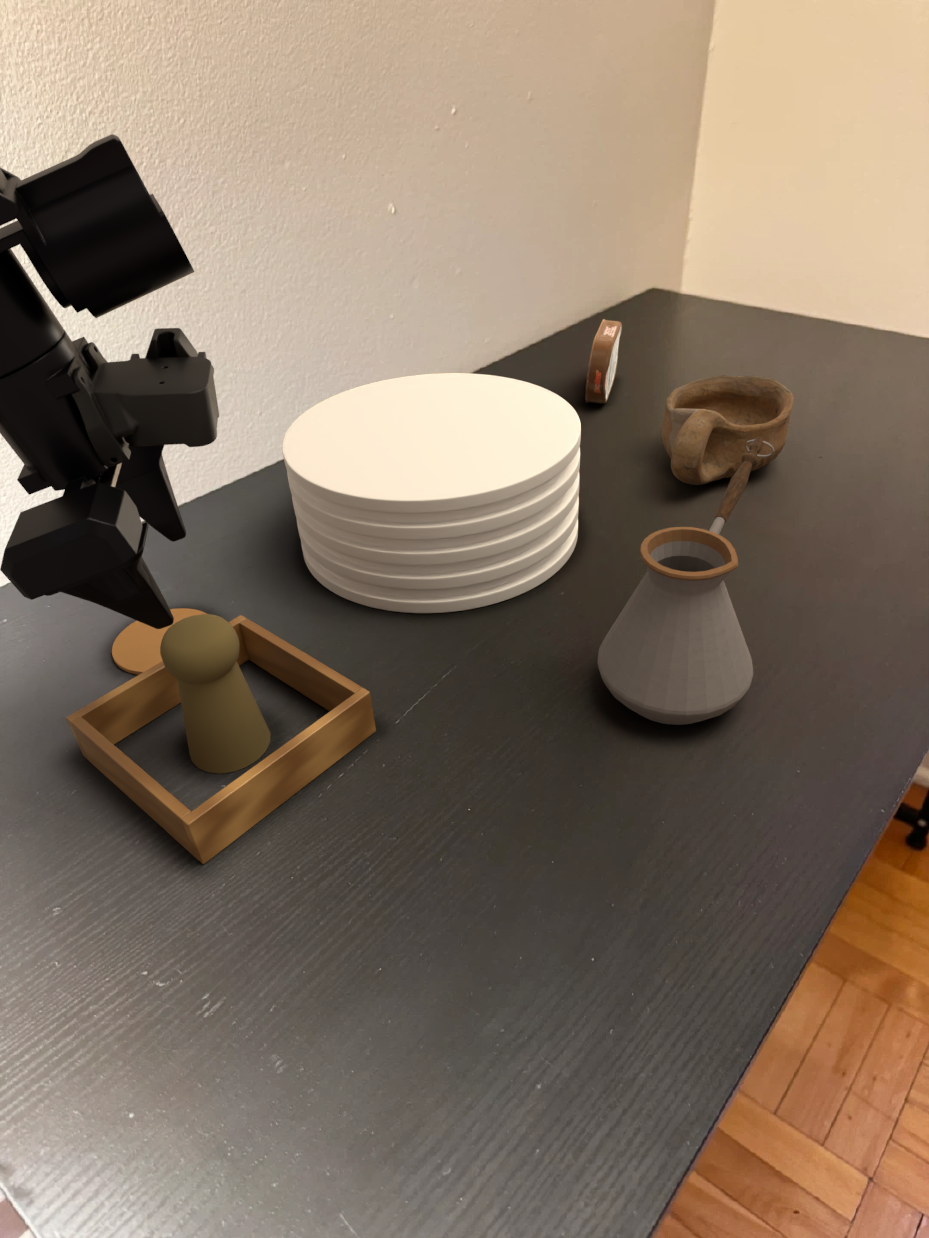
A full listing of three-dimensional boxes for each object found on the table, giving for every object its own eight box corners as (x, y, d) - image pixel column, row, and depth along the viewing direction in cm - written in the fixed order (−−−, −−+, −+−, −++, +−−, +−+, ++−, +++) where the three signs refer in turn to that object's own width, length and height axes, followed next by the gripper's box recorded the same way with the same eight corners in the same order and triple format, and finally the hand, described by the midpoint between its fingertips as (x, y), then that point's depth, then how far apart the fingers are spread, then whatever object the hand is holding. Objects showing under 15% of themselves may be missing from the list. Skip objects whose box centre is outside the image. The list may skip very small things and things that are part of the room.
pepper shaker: (261, 772, 61) (227, 654, 54) (179, 774, 61) (135, 657, 54) (277, 714, 66) (248, 600, 59) (201, 716, 66) (163, 603, 59)
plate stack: (384, 653, 71) (367, 536, 64) (261, 520, 90) (238, 420, 83) (636, 545, 82) (645, 436, 75) (479, 447, 102) (474, 353, 95)
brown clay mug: (791, 507, 84) (777, 413, 79) (652, 522, 90) (631, 436, 85) (804, 431, 96) (794, 347, 91) (682, 449, 103) (666, 371, 98)
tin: (599, 370, 119) (601, 310, 114) (621, 371, 119) (625, 310, 114) (582, 413, 108) (584, 348, 103) (607, 414, 107) (610, 349, 102)
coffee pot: (717, 765, 59) (748, 589, 50) (570, 709, 64) (574, 541, 55) (802, 607, 73) (839, 447, 64) (676, 572, 78) (693, 420, 69)
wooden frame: (203, 865, 55) (187, 824, 52) (83, 756, 63) (65, 717, 61) (376, 731, 64) (370, 691, 61) (250, 651, 72) (240, 614, 70)
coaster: (149, 690, 69) (147, 686, 69) (93, 648, 74) (92, 644, 74) (238, 636, 74) (237, 632, 74) (181, 600, 79) (180, 596, 79)
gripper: (134, 374, 35) (294, 630, 46) (174, 245, 50) (289, 462, 60) (-102, 467, 36) (107, 698, 46) (3, 313, 50) (146, 516, 61)
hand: (173, 578), depth 53 cm, fingers open, 9 cm apart
